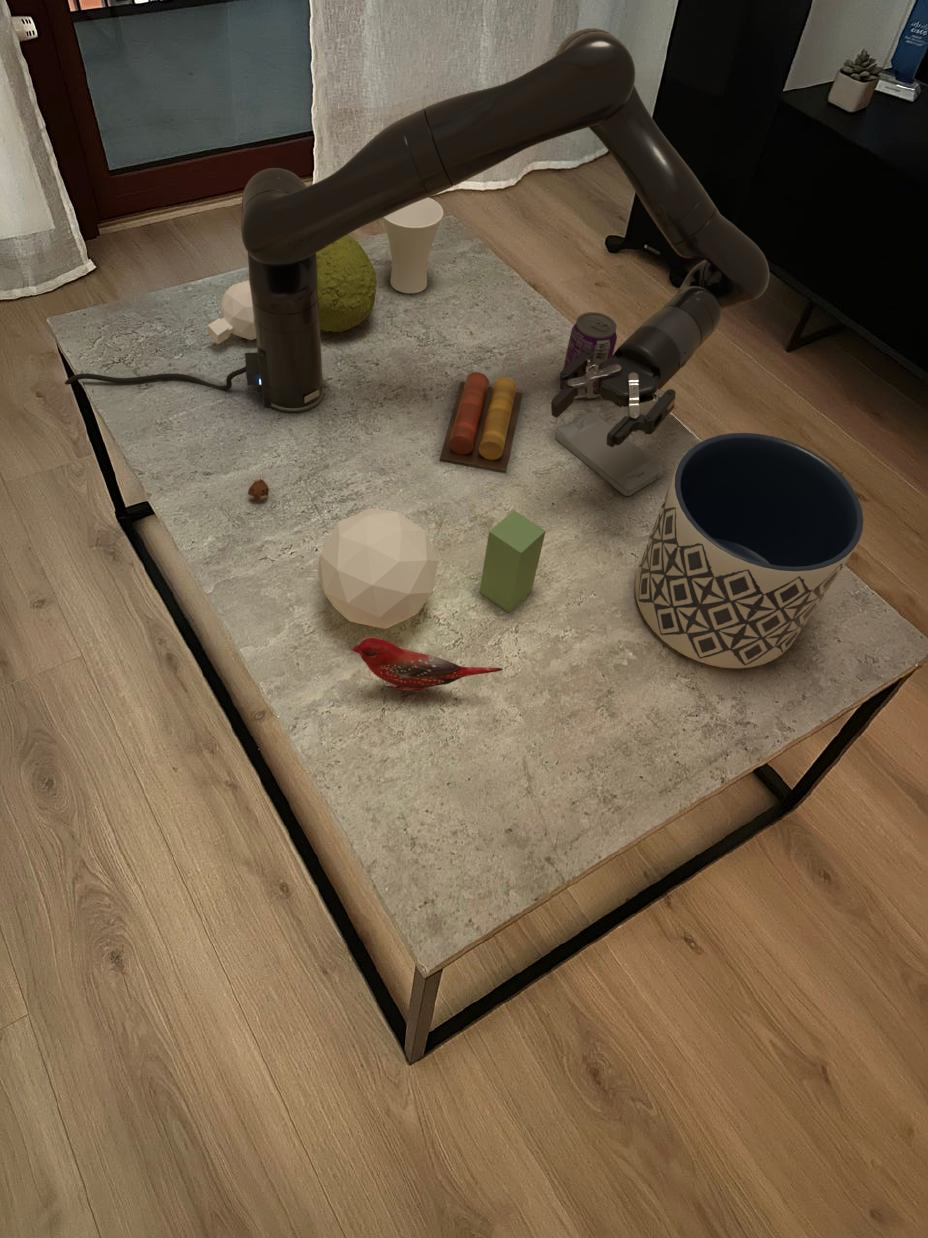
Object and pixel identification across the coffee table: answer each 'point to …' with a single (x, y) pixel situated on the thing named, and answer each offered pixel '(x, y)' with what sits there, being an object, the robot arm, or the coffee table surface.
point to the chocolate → (258, 489)
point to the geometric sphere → (377, 568)
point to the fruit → (344, 285)
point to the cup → (412, 243)
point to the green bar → (511, 560)
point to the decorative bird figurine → (411, 666)
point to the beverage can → (592, 338)
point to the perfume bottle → (235, 314)
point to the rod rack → (482, 423)
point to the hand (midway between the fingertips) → (581, 426)
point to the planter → (745, 548)
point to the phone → (609, 454)
